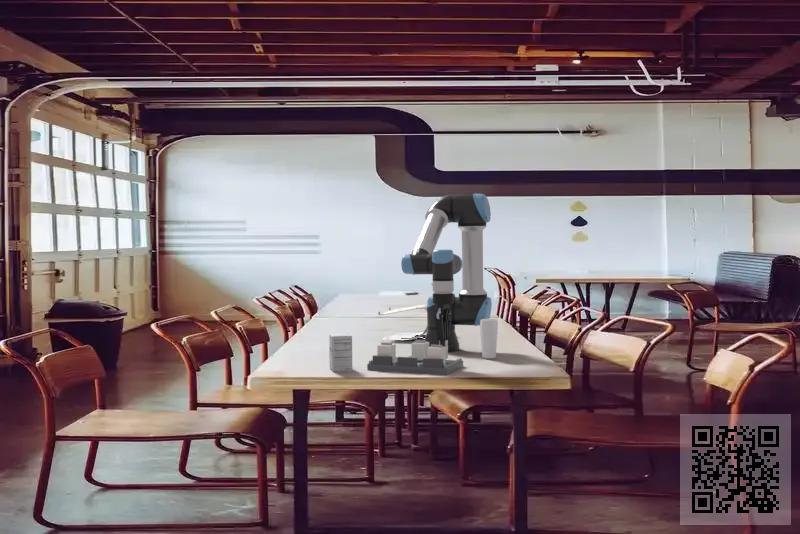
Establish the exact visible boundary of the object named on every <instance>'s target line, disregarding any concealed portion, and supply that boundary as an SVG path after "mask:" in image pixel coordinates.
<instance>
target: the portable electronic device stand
mask: <svg viewBox="0 0 800 534" xmlns="http://www.w3.org/2000/svg"><path fill="white" fill-rule="evenodd" d="M418 309H419V310H422V309H423V310H425V311H426V312H427V303H425V304H419V305H413V306H408V307H401V308H394V309H393V308H392V309H391V307H389V308H388V311H385V312H383V313H381V311H380V310H379V311H378V312H377V315H378V316H383V315H390V314H396V313H402V312H409V311H413V310H418ZM417 334H420V335H418V336H416V337H412V338H401V339H409V341H412V340H417V339H416V338H419V337H423V336H424V335H426V334H427V326H426V328H425V329H424V331H423V332H418V333H417ZM385 337H386V336H385ZM385 337H383V338H382V340H381V341H384V340H389V339H386V338H387V337H386V338H385Z"/></svg>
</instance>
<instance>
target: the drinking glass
mask: <svg viewBox="0 0 800 534" xmlns="http://www.w3.org/2000/svg"><path fill="white" fill-rule="evenodd" d="M498 323H499V322H498V319H497V318H489V319H481V320H480V325H479V331H480V342H481V343H480V345H481V357H482V359H484V360H494V359H496V358H497V344H498V333H499V331H498V329H499V327H498V326H499V325H498Z"/></svg>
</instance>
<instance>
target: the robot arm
mask: <svg viewBox="0 0 800 534" xmlns="http://www.w3.org/2000/svg"><path fill="white" fill-rule="evenodd" d="M490 206H491V205H490V202H489V200H488V197H487V196H486V194H484V193H459V194H458V193H457V194H454V193H453V194H451V193H450V194H446V195H443V196H441V197H440V198H438V199H437V200H435V201H434V202H433V203H432V204H431V205H430V206H429V208H428V209H427V212H426V213H425V216H424V218H425V221H424V224H423V227H422V229H421V231H420V234H419V236H418V238H417V240H416V243H415V245H414V247H413V250H412V252H411V253H408V254H404V255H403V256H402V257H401V261H400V265H401V271H402V272H403V273H404V274H406V275H412V276H413V275H414V276H415V275H432V282H431V284H430V285H431V286H432V292H433V293H432V295H431V296H429V297H428V298H427V303H426V304H427V311H426V317H427V318H426V319H427V320H426V321H427V323H426V327H427V333H425V336H424V337H425V339H424V340H425V341H426V342H429V347H431V345H442V346H444V347H446V360H448V358H449V352H456V351H457V352H458V351H459V350H460V342H459V339H458V336H457V333H456V326H474V327H477V326H479V327H480V320H481V319H491V318H490V317H491V313H492V304H493V303H492V298H491V297H489V296H488V292H487V291H486V290H485V289H484V254H483V253H484V242H483V241H484V239H483V238H484V235H483V234H484V233H483V232H484V229H486V228H487V223H489V222H490V221H491V218H492V216H491V215H492V214H491V207H490ZM451 223H456V224H457V227H458V229H459V230H460V231H461V257H460V256H459V255H457V254H455V253H454V251H453V249H436V246H437V244H438V241H439V239H440V236H441V234H442V231H443V230H444V228H445V227H446V226H447V225H448V224H451ZM461 270H462V272H461V273H462V274H461V276H462V277H461V278H462V280H461V282H462V283H461V284H462V287H461V288H462V289H461V290H460V291H459V293H458V296H456V293H453V292H454V288H455V286H454V285H455V283H454V275H457V274H458V273H459V272H460V271H461Z"/></svg>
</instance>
